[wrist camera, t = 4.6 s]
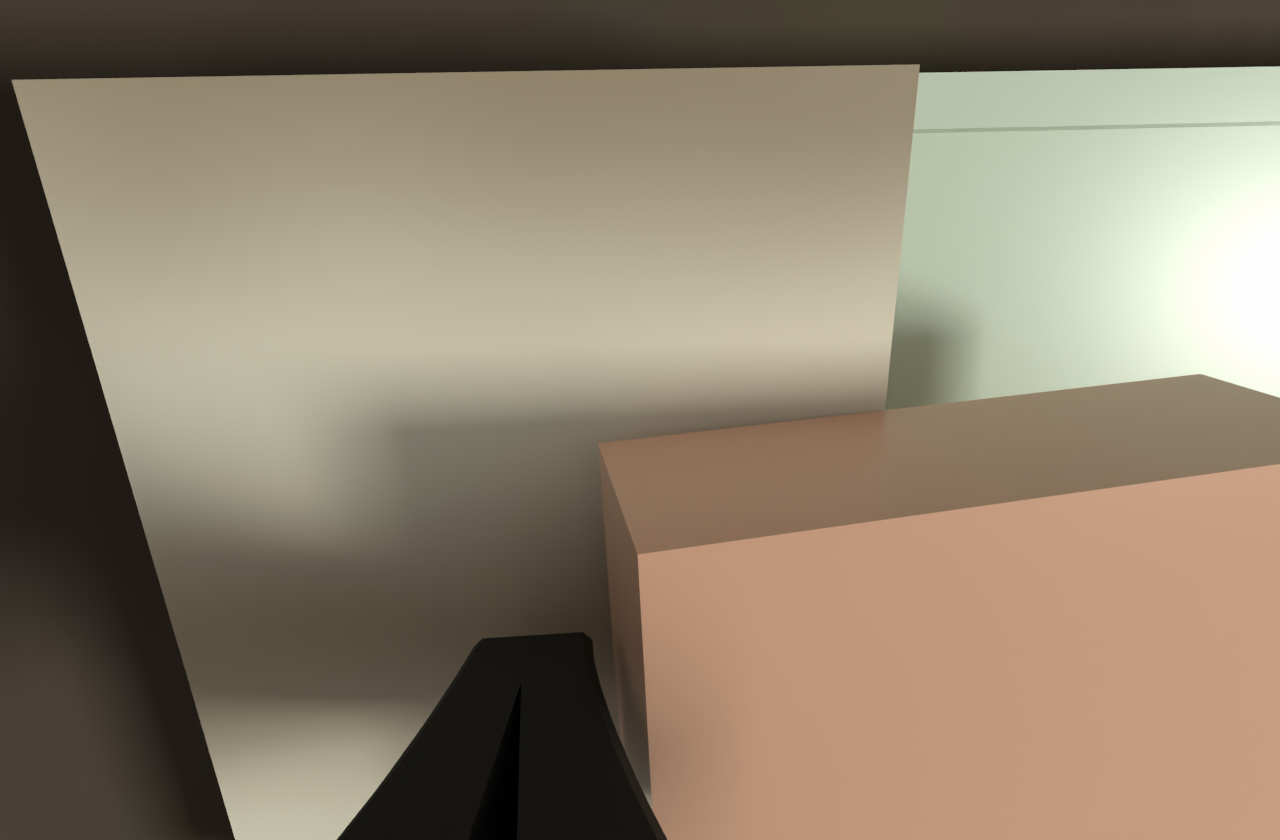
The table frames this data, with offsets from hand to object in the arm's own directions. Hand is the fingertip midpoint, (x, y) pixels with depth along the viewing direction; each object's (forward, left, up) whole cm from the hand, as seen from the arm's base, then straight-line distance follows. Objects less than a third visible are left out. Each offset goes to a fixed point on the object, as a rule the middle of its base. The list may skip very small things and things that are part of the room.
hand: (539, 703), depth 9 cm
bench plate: (0, 0, -4) cm, 4 cm away
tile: (0, -5, -1) cm, 5 cm away
